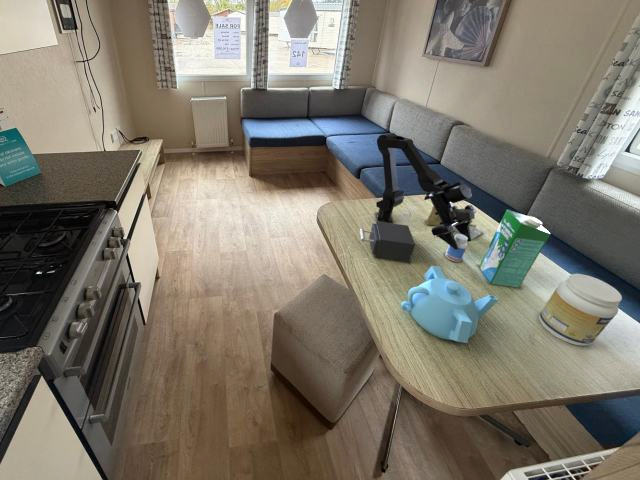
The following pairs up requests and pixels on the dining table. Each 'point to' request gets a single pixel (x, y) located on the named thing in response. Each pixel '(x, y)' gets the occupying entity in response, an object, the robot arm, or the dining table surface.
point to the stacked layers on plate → (471, 229)
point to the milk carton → (513, 249)
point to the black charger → (394, 242)
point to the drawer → (371, 238)
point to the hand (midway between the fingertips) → (463, 245)
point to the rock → (433, 218)
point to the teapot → (446, 307)
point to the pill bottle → (462, 245)
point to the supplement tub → (580, 309)
